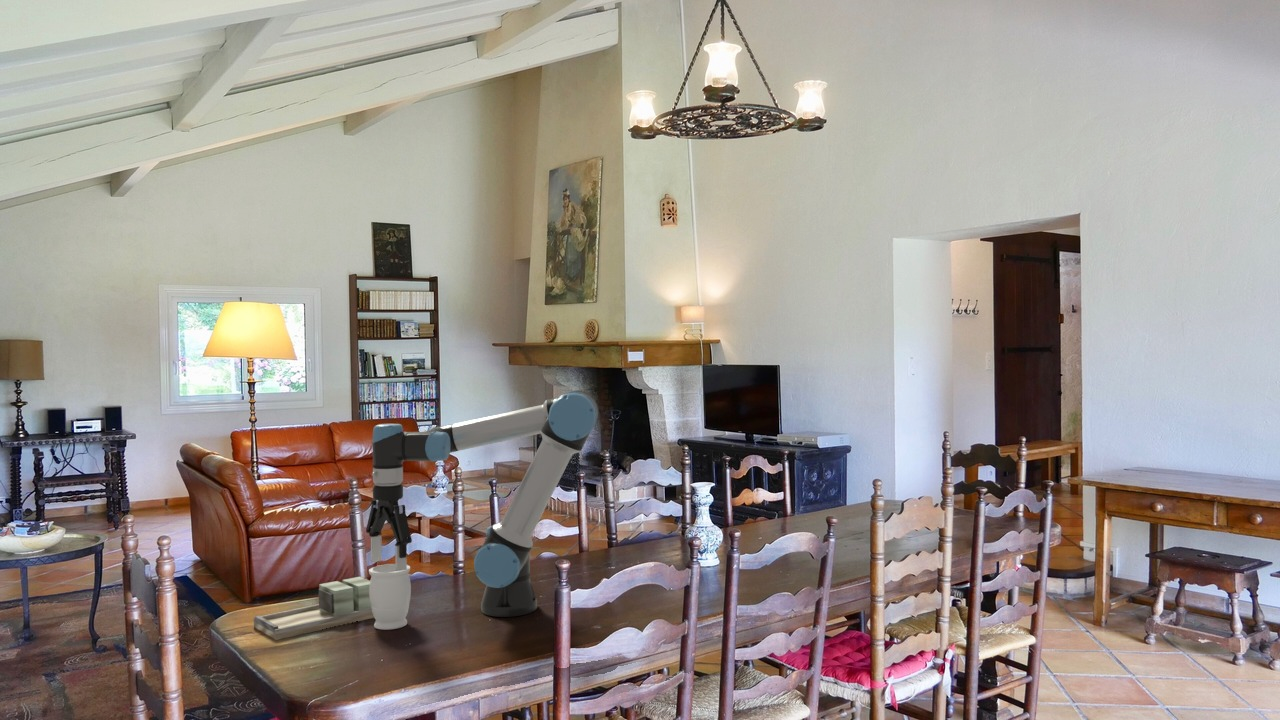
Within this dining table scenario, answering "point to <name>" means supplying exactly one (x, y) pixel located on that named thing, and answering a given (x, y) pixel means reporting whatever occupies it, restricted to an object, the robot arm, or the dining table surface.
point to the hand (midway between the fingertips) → (388, 565)
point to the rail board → (321, 610)
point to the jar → (389, 596)
